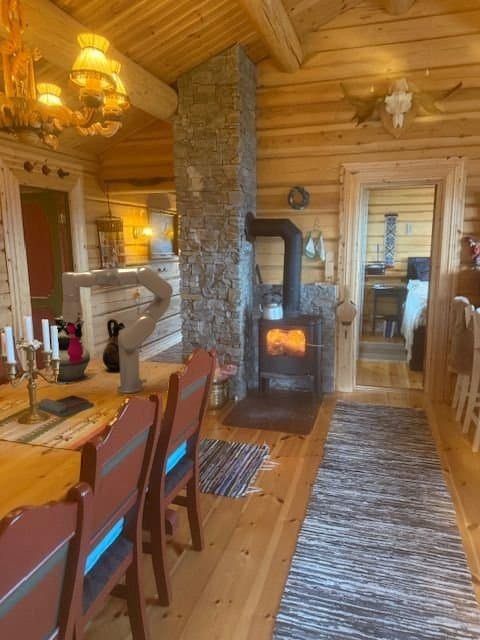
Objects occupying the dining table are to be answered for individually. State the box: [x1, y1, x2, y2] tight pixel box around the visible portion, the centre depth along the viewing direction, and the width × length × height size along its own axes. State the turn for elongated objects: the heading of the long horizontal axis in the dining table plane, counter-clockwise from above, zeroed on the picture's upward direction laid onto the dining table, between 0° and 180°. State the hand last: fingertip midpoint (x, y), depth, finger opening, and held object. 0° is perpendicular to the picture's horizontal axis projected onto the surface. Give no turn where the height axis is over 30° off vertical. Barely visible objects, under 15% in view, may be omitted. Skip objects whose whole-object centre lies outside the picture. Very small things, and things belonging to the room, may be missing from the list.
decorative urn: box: [48, 315, 92, 385], centre depth 244 cm, size 21×21×35 cm
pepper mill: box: [67, 323, 83, 363], centre depth 215 cm, size 7×7×20 cm
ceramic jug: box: [102, 318, 126, 373], centre depth 262 cm, size 17×15×30 cm
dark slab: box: [37, 394, 95, 418], centre depth 201 cm, size 16×18×4 cm
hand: (74, 335), depth 215 cm, fingers closed on pepper mill, 6 cm apart
